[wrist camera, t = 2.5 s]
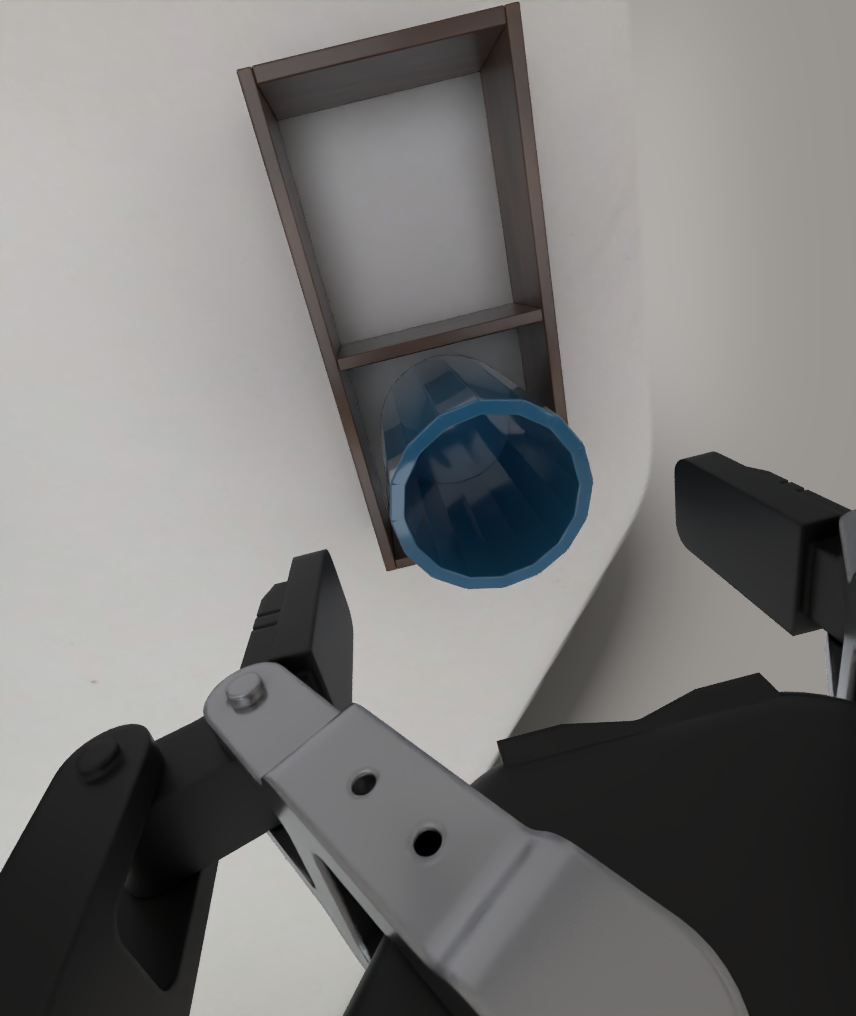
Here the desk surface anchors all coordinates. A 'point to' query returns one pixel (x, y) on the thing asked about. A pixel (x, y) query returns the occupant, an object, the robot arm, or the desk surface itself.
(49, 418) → the desk surface
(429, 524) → the blue cup
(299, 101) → the divided wooden frame
